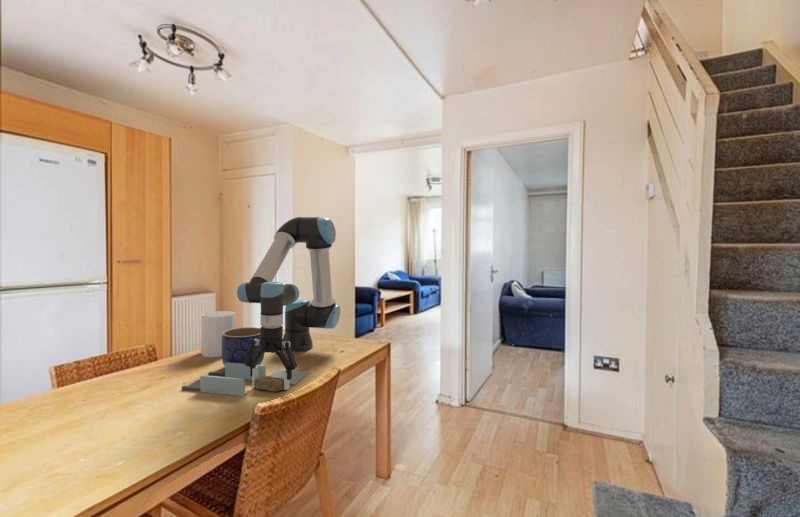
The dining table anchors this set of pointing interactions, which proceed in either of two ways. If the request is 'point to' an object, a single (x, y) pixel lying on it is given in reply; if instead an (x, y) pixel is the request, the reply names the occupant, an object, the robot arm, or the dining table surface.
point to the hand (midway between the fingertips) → (270, 387)
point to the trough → (226, 380)
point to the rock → (270, 383)
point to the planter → (239, 344)
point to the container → (215, 331)
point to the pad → (296, 376)
